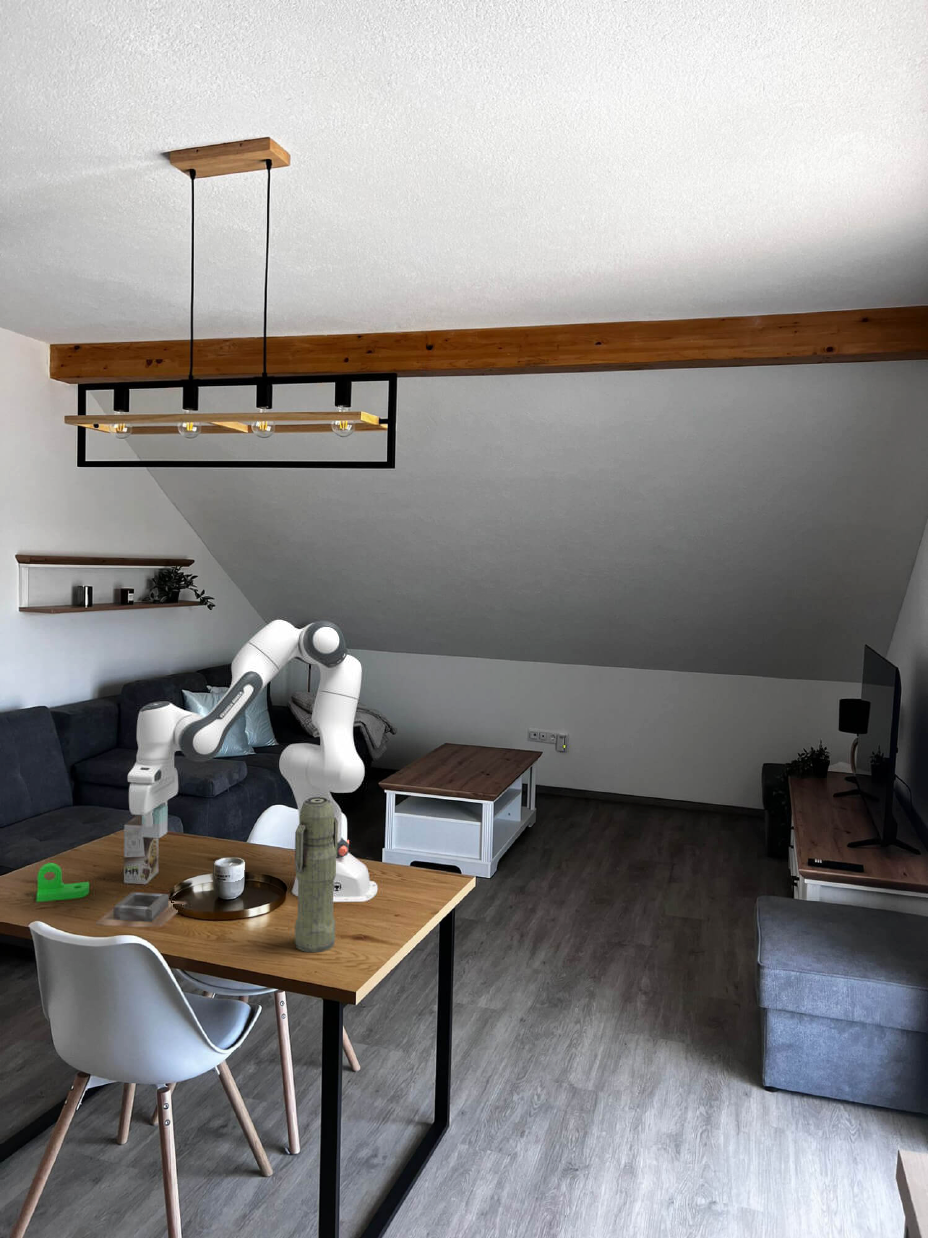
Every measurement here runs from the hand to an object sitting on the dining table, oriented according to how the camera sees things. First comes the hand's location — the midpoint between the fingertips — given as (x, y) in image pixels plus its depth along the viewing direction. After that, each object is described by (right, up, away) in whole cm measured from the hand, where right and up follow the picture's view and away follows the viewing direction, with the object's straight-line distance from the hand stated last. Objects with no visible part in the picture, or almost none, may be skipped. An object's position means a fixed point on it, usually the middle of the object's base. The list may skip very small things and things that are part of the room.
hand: (155, 822), depth 226 cm
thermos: (+43, -25, -20) cm, 54 cm away
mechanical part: (-26, -21, +7) cm, 34 cm away
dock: (-2, -22, -5) cm, 22 cm away
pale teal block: (0, -3, 0) cm, 3 cm away
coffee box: (-10, -20, +20) cm, 30 cm away
